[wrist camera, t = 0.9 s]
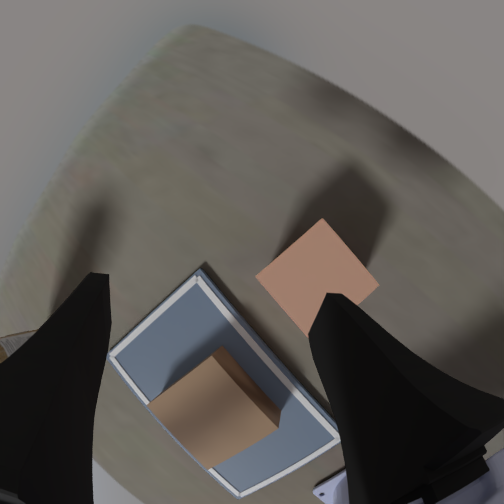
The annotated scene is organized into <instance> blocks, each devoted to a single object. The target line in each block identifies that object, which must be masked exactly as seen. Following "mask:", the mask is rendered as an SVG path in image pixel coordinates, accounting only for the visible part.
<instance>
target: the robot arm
mask: <svg viewBox="0 0 504 504" xmlns="http://www.w3.org/2000/svg"><path fill="white" fill-rule="evenodd" d="M111 324H112V321H111V307H110V288H109V274H100V273H92V272H90V273H89V274H88V275H87V276H86V277H85V278H84V279H83V281H82V282H81V283H80V284H79V285H78V287H77V288H76V289H75V290H74V291H73V292H72V293H71V295H70V296H69V297H68V298H67V299H66V300H65V301H64V303H63V304H62V305H61V306H60V307H59V308H58V309H57V310H56V311H55V313H54V314H53V315H52V316H51V317H50V318H49V319H48V320H47V321H46V322H45V323H44V324H43V325H42V326H41V327H40V328H39V329H38V330H37V331H36V332H35V333H34V334H33V335H32V336H31V337H30V338H29V339H28V340H27V341H26V342H25V343H24V344H23V345H22V346H21V347H19V348H18V349H17V350H16V351H15V352H14V353H13V354H11V355H10V356H9V357H8V358H7V359H5V360H4V361H3V362H2V363H0V504H94V502H93V483H92V446H93V426H94V416H95V409H96V403H97V398H98V393H99V389H100V384H101V379H102V375H103V370H104V366H105V361H106V357H107V353H108V347H109V339H110V331H111ZM308 338H309V343H310V348H311V352H312V356H313V360H314V362H315V365H316V368H317V371H318V373H319V376H320V379H321V381H322V384H323V386H324V389H325V392H326V394H327V397H328V400H329V402H330V405H331V407H332V410H333V413H334V416H335V420H336V423H337V428H338V432H339V436H340V440H341V445H342V450H343V456H344V461H345V468H346V469H345V470H343V471H341V472H340V473H338V474H337V475H335V476H333V477H332V478H330V479H328V480H326V481H325V482H323V483H321V484H319V485H318V486H316V487H314V488H313V493H314V495H316V496H317V497H318V498H319V499H320V500H322V501H323V502H324V503H325V504H504V448H503V449H501V450H500V451H498V452H497V453H495V454H494V455H492V456H491V457H489V458H488V459H487V460H484V458H483V455H484V454H486V452H487V450H486V448H485V446H484V445H485V444H486V443H487V442H488V441H490V440H491V439H492V438H493V437H494V436H495V435H496V434H498V433H499V432H500V431H501V430H502V429H503V428H504V399H502V398H500V397H497V396H494V395H491V394H488V393H485V392H483V391H480V390H478V389H475V388H473V387H471V386H469V385H466V384H464V383H462V382H460V381H458V380H456V379H454V378H453V377H451V376H449V375H447V374H445V373H444V372H442V371H440V370H439V369H437V368H435V367H434V366H432V365H431V364H429V363H428V362H426V361H425V360H423V359H422V358H420V357H419V356H417V355H416V354H415V353H413V352H412V351H411V350H409V349H408V348H407V347H405V346H404V345H403V344H402V343H400V342H399V341H398V340H397V339H395V338H394V337H393V336H392V335H391V334H389V333H388V332H387V331H386V330H385V329H384V328H382V327H381V326H380V325H379V324H378V323H377V322H375V321H374V320H373V319H372V318H371V317H370V316H369V315H367V314H366V313H365V312H364V311H363V310H362V309H361V308H359V307H358V306H357V305H356V304H355V303H353V302H352V301H351V300H350V299H348V298H347V297H346V296H345V295H343V294H342V293H326V295H325V298H324V300H323V302H322V304H321V307H320V309H319V311H318V313H317V315H316V318H315V320H314V322H313V324H312V326H311V328H310V331H309V333H308ZM320 493H323V494H320Z"/></svg>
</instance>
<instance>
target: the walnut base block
mask: <svg viewBox="0 0 504 504" xmlns="http://www.w3.org/2000/svg"><path fill="white" fill-rule="evenodd" d="M146 406H147V407H148V408H149V409H150V410H151V411H152V413H153V414H154V415H155V416H156V417H157V418H158V419H159V421H160V422H161V423H162V424H163V425H164V426H165V427H166V428H167V429H168V430H169V432H170V433H171V434H172V435H173V436H174V437H175V438H176V439H177V440H178V441H179V442H180V443H181V444H182V445H183V446H184V447H185V448H186V449H187V450H188V451H189V452H190V453H191V454H192V455H193V456H194V457H195V458H196V459H197V460H198V461H199V462H200V463H201V464H202V465H203V466H204V467H205V468H206V469H207V470H209V469H211V468H212V467H214V466H216V465H218V464H220V463H222V462H224V461H225V460H227V459H229V458H231V457H233V456H234V455H236V454H238V453H240V452H241V451H243V450H245V449H246V448H248V447H250V446H251V445H253V444H255V443H256V442H258V441H260V440H261V439H263V438H264V437H266V436H268V435H269V434H271V433H272V432H274V431H275V430H277V429H279V423H280V417H281V410H280V409H279V408H278V407H277V406H276V405H275V404H274V403H273V401H272V400H271V399H270V398H269V397H268V396H267V395H266V394H265V393H264V392H263V391H262V390H261V388H260V387H259V386H258V385H257V384H256V383H255V382H254V381H253V380H252V379H251V377H250V376H249V375H248V374H247V373H246V372H245V371H244V370H243V368H242V367H241V366H240V365H239V364H238V363H237V362H236V361H235V359H234V358H233V357H232V356H231V355H230V354H229V352H228V351H227V350H226V349H225V348H224V347H223V345H222V346H221V347H219V348H218V349H217V350H216V351H214V352H213V353H212V354H210V355H209V356H208V357H207V358H205V359H204V360H203V361H202V362H200V363H199V364H198V365H196V366H195V367H194V368H193V369H191V370H190V371H189V372H187V373H186V374H185V375H184V376H182V377H181V378H180V379H178V380H177V381H176V382H174V383H173V384H172V385H170V386H169V387H168V388H166V389H165V390H164V391H162V392H161V393H160V394H159V395H158V396H157V397H155V398H154V399H153V400H152V401H151V402H150V403H148V404H147V405H146Z"/></svg>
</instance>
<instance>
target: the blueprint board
mask: <svg viewBox="0 0 504 504" xmlns="http://www.w3.org/2000/svg"><path fill="white" fill-rule="evenodd" d="M222 345H223V347H224V348H225V349H226V350H227V351H228V352H229V354H230V355H231V356H232V357H233V358H234V359H235V361H236V362H237V363H238V364H239V365H240V366H241V367H242V368H243V370H244V371H245V372H246V373H247V374H248V375H249V376H250V377H251V379H252V380H253V381H254V382H255V383H256V384H257V385H258V386H259V387H260V388H261V390H262V391H263V392H264V393H265V394H266V395H267V396H268V397H269V398H270V399H271V400H272V401H273V403H274V404H275V405H276V406H277V407H278V408H279V409H280V410H281V417H280V423H279V429H277V430H275V431H274V432H272V433H271V434H269V435H268V436H266V437H264V438H263V439H261V440H260V441H258V442H256V443H255V444H253V445H251V446H250V447H248V448H246V449H245V450H243V451H241V452H240V453H238V454H236V455H234V456H233V457H231V458H229V459H227V460H225V461H224V462H222V463H220V464H218V465H216V466H214V467H212V468H211V469H209V470H207V469H206V468H205V467H204V466H203V465H202V464H201V463H200V462H199V461H198V460H197V459H196V458H195V457H194V456H193V455H192V454H191V453H190V452H189V451H188V450H187V449H186V448H185V447H184V446H183V445H182V444H181V443H180V442H179V441H178V440H177V439H176V438H175V437H174V436H173V435H172V434H171V433H170V432H169V430H168V429H167V428H166V427H165V426H164V425H163V424H162V423H161V422H160V421H159V419H158V418H157V417H156V416H155V415H154V414H153V413H152V411H151V410H150V409H149V408H148V407H147V406H146V405H147V404H148V403H150V402H151V401H152V400H153V399H154V398H155V397H157V396H158V395H159V394H160V393H161V392H162V391H164V390H165V389H166V388H168V387H169V386H170V385H172V384H173V383H174V382H176V381H177V380H178V379H180V378H181V377H182V376H184V375H185V374H186V373H187V372H189V371H190V370H191V369H193V368H194V367H195V366H196V365H198V364H199V363H200V362H202V361H203V360H204V359H205V358H207V357H208V356H209V355H210V354H212V353H213V352H214V351H216V350H217V349H218V348H219V347H221V346H222ZM106 358H107V360H108V361H109V362H110V364H111V365H112V366H113V368H114V369H115V370H116V372H117V373H118V374H119V376H120V377H121V378H122V379H123V381H124V382H125V383H126V385H127V386H128V387H129V388H130V390H131V391H132V392H133V393H134V395H135V396H136V397H137V398H138V399H139V401H140V402H141V403H142V404H143V405H144V407H145V408H146V409H147V410H148V411H149V412H150V414H151V415H152V416H153V417H154V418H155V419H156V420H157V421H158V423H159V424H160V425H161V426H162V427H163V428H164V429H165V430H166V431H167V432H168V434H169V435H170V436H171V437H172V438H173V439H174V440H175V441H176V442H177V443H178V444H179V445H180V446H181V447H182V448H183V449H184V450H185V451H186V452H187V453H188V454H189V455H190V456H191V457H192V458H193V459H194V460H195V461H196V462H197V463H198V464H199V465H200V466H201V467H202V468H203V469H204V470H205V471H206V472H207V473H208V474H209V475H210V476H212V477H213V478H214V479H215V480H216V481H217V482H218V483H219V484H220V485H221V486H223V487H224V488H225V489H226V490H227V491H228V492H229V493H231V494H232V495H233V496H234V497H235V498H236V499H241V498H243V497H245V496H247V495H249V494H251V493H253V492H255V491H257V490H259V489H261V488H263V487H265V486H267V485H269V484H271V483H273V482H275V481H277V480H279V479H281V478H282V477H284V476H286V475H288V474H290V473H291V472H293V471H295V470H297V469H298V468H300V467H302V466H304V465H305V464H307V463H309V462H310V461H312V460H313V459H315V458H317V457H318V456H320V455H322V454H323V453H325V452H326V451H328V450H329V449H331V448H332V447H334V446H335V445H337V444H338V443H340V442H341V440H340V436H339V432H338V428H337V423H336V421H335V420H334V419H333V418H332V417H331V416H330V415H329V414H328V412H327V411H326V410H325V409H324V408H323V407H322V406H321V405H320V404H319V403H318V402H317V401H316V400H315V398H314V397H313V396H312V395H311V394H310V393H309V392H308V391H307V390H306V389H305V387H304V386H303V385H302V384H301V383H300V382H299V381H298V380H297V379H296V378H295V376H294V375H293V374H292V373H291V372H290V371H289V370H288V369H287V367H286V366H285V365H284V364H283V363H282V362H281V361H280V360H279V358H278V357H277V356H276V355H275V354H274V353H273V352H272V351H271V349H270V348H269V347H268V346H267V345H266V344H265V343H264V341H263V340H262V339H261V338H260V337H259V336H258V334H257V333H256V332H255V331H254V330H253V329H252V327H251V326H250V325H249V324H248V323H247V322H246V320H245V319H244V318H243V317H242V316H241V315H240V313H239V312H238V311H237V310H236V309H235V307H234V306H233V305H232V304H231V303H230V302H229V300H228V299H227V298H226V297H225V296H224V294H223V293H222V292H221V291H220V290H219V288H218V287H217V286H216V285H215V284H214V282H213V281H212V280H211V279H210V277H209V276H208V275H207V274H206V273H205V271H204V270H203V269H202V268H200V269H199V270H197V271H196V272H195V273H194V274H193V275H192V276H191V277H190V278H189V279H188V280H186V281H185V282H184V283H183V284H182V285H181V286H180V287H179V288H178V289H177V290H175V291H174V292H173V293H172V294H171V295H170V296H169V297H168V298H167V299H166V300H164V301H163V302H162V303H161V304H160V305H159V306H158V307H157V308H156V309H155V310H154V311H152V312H151V313H150V314H149V315H148V316H147V317H146V318H145V319H144V320H143V321H142V322H141V323H139V324H138V325H137V326H136V327H135V328H134V329H133V330H132V331H131V332H130V333H129V334H128V335H127V336H125V337H124V338H123V339H122V340H121V341H120V342H119V343H118V344H117V345H116V346H115V347H114V348H113V349H112V350H111V351H109V352H108V353H107V357H106Z"/></svg>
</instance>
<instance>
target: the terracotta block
mask: <svg viewBox="0 0 504 504" xmlns="http://www.w3.org/2000/svg"><path fill="white" fill-rule="evenodd" d="M255 277H256V278H257V279H258V280H259V281H260V283H261V284H262V285H263V286H264V287H265V288H266V290H267V291H268V292H269V293H270V294H271V296H272V297H273V298H274V299H275V300H276V301H277V303H278V304H279V305H280V306H281V307H282V308H283V310H284V311H285V312H286V313H287V314H288V315H289V316H290V318H291V319H292V320H293V321H294V322H295V323H296V325H297V326H298V327H299V328H300V329H301V330H302V332H303V333H304V334H305V335H306V336H307V337H308V333H309V331H310V328H311V326H312V324H313V322H314V320H315V318H316V315H317V313H318V311H319V309H320V307H321V304H322V302H323V300H324V298H325V295H326V293H342V294H343V295H345V296H346V297H347V298H348V299H350V300H351V301H352V302H353V303H355V304H356V305H358V304H359V303H360V302H361V301H362V300H364V299H365V298H366V297H367V296H368V295H369V294H370V293H371V292H372V291H374V290H375V289H376V288H377V287H378V286H379V284H378V283H377V282H376V280H375V279H374V278H373V277H372V275H371V274H370V273H369V272H368V271H367V269H366V268H365V267H364V266H363V264H362V263H361V262H360V261H359V260H358V258H357V257H356V256H355V255H354V254H353V253H352V251H351V250H350V249H349V248H348V247H347V245H346V244H345V243H344V242H343V241H342V240H341V239H340V237H339V236H338V235H337V234H336V233H335V232H334V230H333V229H332V228H331V227H330V226H329V225H328V224H327V222H326V221H325V220H324V219H323V218H322V219H321V220H319V221H318V222H317V223H316V224H315V225H314V226H313V227H311V228H310V229H309V230H308V231H307V232H306V233H305V234H304V235H302V236H301V237H300V238H299V239H298V240H297V241H296V242H294V243H293V244H292V245H291V246H290V247H289V248H288V249H286V250H285V251H284V252H283V253H282V254H281V255H280V256H278V257H277V258H276V259H275V260H274V261H273V262H271V263H270V264H269V265H268V266H267V267H266V268H265V269H263V270H262V271H261V272H260V273H259V274H258V275H256V276H255ZM308 339H309V338H308Z"/></svg>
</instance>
